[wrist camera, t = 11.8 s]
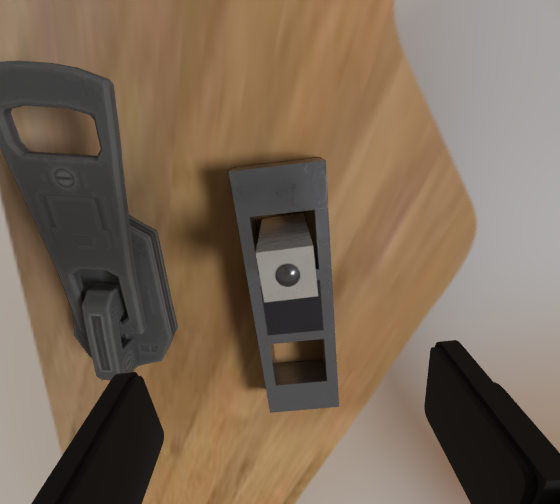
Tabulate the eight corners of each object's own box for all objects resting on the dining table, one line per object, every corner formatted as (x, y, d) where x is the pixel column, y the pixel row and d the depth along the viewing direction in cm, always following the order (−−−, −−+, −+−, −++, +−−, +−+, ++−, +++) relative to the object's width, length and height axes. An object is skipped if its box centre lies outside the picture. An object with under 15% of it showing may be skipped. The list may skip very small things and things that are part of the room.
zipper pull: (114, 65, 16) (156, 406, 25) (159, 83, 22) (179, 352, 32) (-57, 53, 16) (48, 401, 25) (36, 75, 22) (93, 348, 31)
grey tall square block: (262, 218, 26) (255, 253, 19) (303, 213, 26) (313, 245, 18) (268, 256, 27) (264, 303, 20) (307, 251, 27) (318, 296, 20)
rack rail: (234, 167, 24) (228, 171, 22) (320, 157, 24) (325, 160, 21) (270, 389, 33) (270, 413, 30) (333, 383, 33) (339, 407, 30)
